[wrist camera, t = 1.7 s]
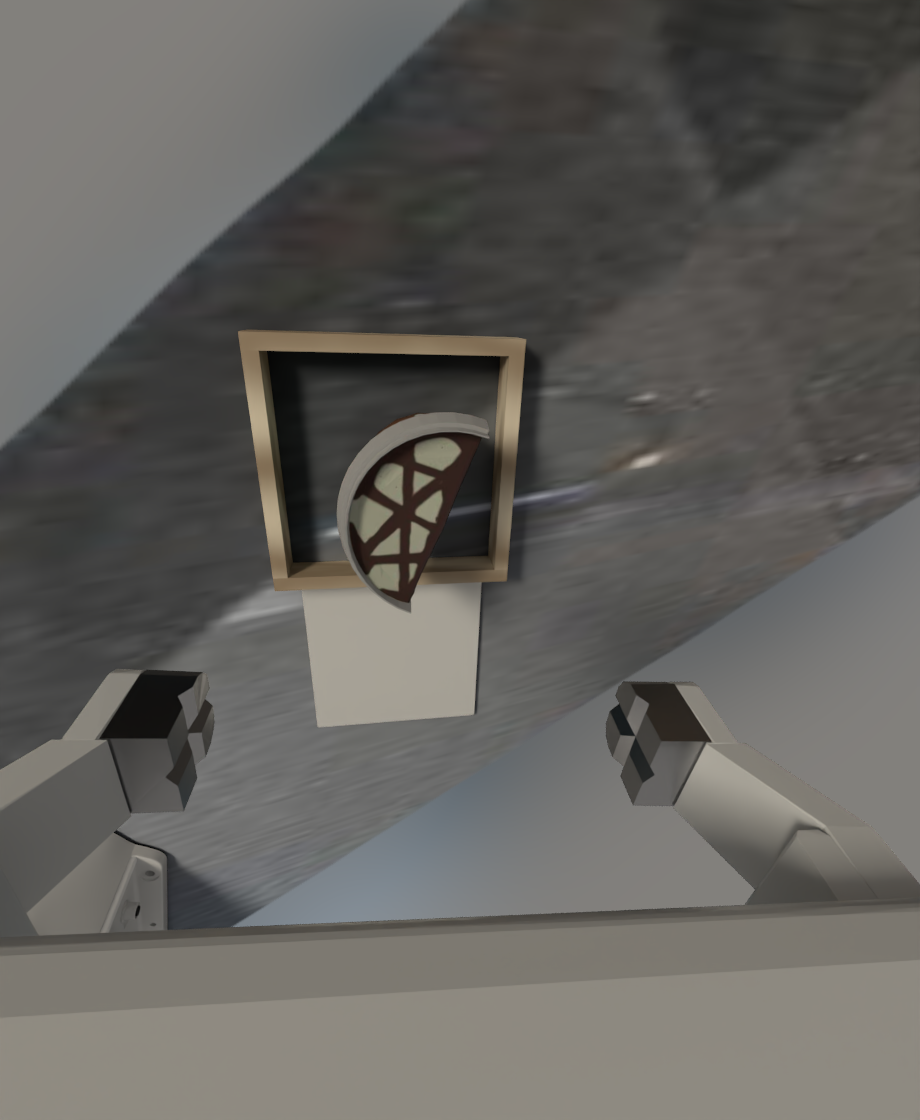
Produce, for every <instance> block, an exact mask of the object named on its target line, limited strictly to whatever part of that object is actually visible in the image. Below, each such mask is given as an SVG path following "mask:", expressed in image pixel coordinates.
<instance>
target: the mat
mask: <svg viewBox="0 0 920 1120" xmlns="http://www.w3.org/2000/svg"><path fill="white" fill-rule="evenodd" d="M481 583H482V582H475V583H451V584H428V585H417V586H416V588H415V592H414V594H413V596H412V598H411V614H410V613H407V612H405V611H402V610H399V609H397V608H395V607H394V606H392V605H390V604H388V603H386V602H385V601H384V600H382V599H381V598H380V597H378V596H377V595H376V594H374V593H373V592H372V591H371V590H370V589H369V588H368V587H358V588H335V589H312V590H302V595H303V604H304V612H305V621H306V630H307V638H308V647H309V655H310V664H311V673H312V681H313V690H314V698H315V707H316V716H317V724H318V727H329V726H341V725H353V724H366V723H378V722H390V721H403V720H415V719H427V718H440V717H452V716H464V715H474V707H475V690H476V672H477V654H478V636H479V618H480V601H481Z"/></svg>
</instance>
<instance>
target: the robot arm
mask: <svg viewBox="0 0 920 1120" xmlns="http://www.w3.org/2000/svg"><path fill="white" fill-rule="evenodd" d="M209 689H210V687H209V682H208V677H207V674H205V673H203V672H186V671H164V670H128V669H116V670H114V671H113V672H111V673H110V674H108V676H107V677H106V678H105V680H104V681H103V683H102V684H101V685H100V687H99V688H98V689H97V691H96V692H95V694H94V695H93V696H92V698H91V699H90V701H89V702H88V703H87V705H86V706H85V707H84V709H83V710H82V712H81V713H80V714H79V716H78V717H77V719H76V720H75V721H74V723H73V724H72V726H71V727H70V728H69V730H68V731H67V732H66V734H65V735H64V737H63V738H62V739H61V740H50V741H49V742H47V743H45V744H44V745H42V746H40V747H39V748H37V749H35V750H33V751H32V752H30V753H28V754H27V755H25V756H23V757H22V758H20V759H18V760H16V761H15V762H13V763H11V764H10V765H8V766H6V767H5V768H3V769H1V770H0V1120H920V884H919V883H918V882H917V880H916V879H915V878H914V877H913V876H912V874H911V873H910V872H909V871H908V869H907V868H906V867H905V866H904V865H903V863H902V862H901V861H900V860H899V859H898V857H897V856H896V855H895V854H894V853H893V851H892V850H891V849H890V848H889V847H888V845H887V844H886V843H885V842H884V840H883V839H882V838H881V837H880V836H879V834H878V833H877V832H876V831H875V830H874V828H873V827H872V826H870V825H868V824H867V823H865V822H864V821H862V820H861V819H859V818H858V817H856V816H855V815H853V814H852V813H850V812H849V811H847V810H846V809H844V808H843V807H841V806H840V805H838V804H837V803H835V802H834V801H832V800H831V799H829V798H828V797H826V796H824V795H823V794H822V793H820V792H818V791H817V790H816V789H814V788H812V787H811V786H809V785H808V784H806V783H805V782H803V781H802V780H800V779H799V778H797V777H796V776H794V775H793V774H791V773H790V772H788V771H787V770H785V769H784V768H782V767H781V766H779V765H778V764H776V763H775V762H773V761H772V760H770V759H769V758H767V757H766V756H764V755H762V754H761V753H760V752H758V751H757V750H755V749H753V748H752V747H751V746H749V745H748V744H746V743H738V742H737V741H736V739H735V738H734V736H733V735H732V733H731V732H730V730H729V729H728V728H727V726H726V725H725V723H724V722H723V720H722V719H721V718H720V716H719V715H718V713H717V712H716V710H715V709H714V708H713V706H712V705H711V703H710V702H709V700H708V699H707V698H706V696H705V695H704V693H703V692H702V690H701V689H700V688H699V686H697V685H696V684H695V683H693V682H625V681H623V683H622V684H621V685H620V686H619V687H618V690H617V693H616V698H617V700H618V702H619V704H618V705H617V706H616V707H614V708H613V709H612V710H611V711H610V712H609V716H608V719H607V722H606V738H607V743H608V747H609V749H610V752H611V754H612V757H613V758H614V759H615V760H617V761H618V762H619V763H620V764H621V765H622V766H624V767H623V770H622V773H621V778H622V781H623V783H624V785H625V788H626V790H627V792H628V795H629V797H630V799H631V802H632V804H633V805H643V806H674V809H675V810H676V811H677V812H678V813H679V814H680V815H681V816H682V817H683V818H684V819H685V820H686V821H687V822H688V823H689V824H690V825H691V826H692V827H693V828H694V829H695V830H696V831H697V832H698V833H699V834H700V835H701V836H702V837H703V838H704V839H705V840H706V841H707V842H708V843H709V844H710V845H711V846H712V847H713V848H714V849H715V850H716V851H717V852H718V853H719V854H720V855H721V856H722V857H723V858H724V859H725V860H726V861H727V862H728V863H729V864H730V865H731V866H732V867H733V868H734V869H735V870H736V871H737V872H738V873H739V874H740V875H741V876H742V877H743V878H744V879H745V880H746V881H747V882H748V883H749V884H750V885H751V886H752V887H753V888H754V889H755V891H754V892H753V894H752V895H751V896H750V898H749V899H748V901H747V902H746V903H745V905H734V906H712V907H689V908H666V909H643V910H621V911H598V912H576V913H552V914H530V915H506V916H484V917H483V916H482V917H460V918H459V917H458V918H435V919H412V920H388V921H366V922H343V923H321V924H297V925H274V926H250V927H227V928H204V929H181V930H167V857H166V855H165V854H164V853H162V852H161V851H158V850H156V849H152V848H148V847H145V846H140V845H136V844H133V843H131V842H129V841H127V840H125V839H124V838H122V837H120V836H119V835H117V834H115V833H114V832H115V831H116V830H117V829H118V828H119V827H120V826H121V825H122V824H123V823H124V822H125V821H126V820H128V819H129V818H130V817H131V815H130V813H155V812H180V811H184V809H185V807H186V805H187V802H188V800H189V797H190V795H191V792H192V790H193V787H194V785H195V782H196V780H197V774H196V769H195V765H196V764H197V763H199V762H200V761H201V760H202V759H204V758H205V757H206V755H207V752H208V749H209V747H210V744H211V740H212V735H213V730H214V711H213V706H212V705H211V704H210V703H209V702H208V701H207V700H206V699H205V698H206V696H207V693H208V691H209Z"/></svg>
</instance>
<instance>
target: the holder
mask: <svg viewBox="0 0 920 1120" xmlns="http://www.w3.org/2000/svg"><path fill="white" fill-rule="evenodd" d="M238 335H239V342H240V349H241V356H242V363H243V370H244V377H245V384H246V392H247V399H248V406H249V413H250V420H251V427H252V434H253V441H254V448H255V455H256V462H257V469H258V476H259V483H260V490H261V497H262V504H263V511H264V518H265V525H266V532H267V539H268V546H269V553H270V560H271V567H272V574H273V581H274V588H275V591H288V590H312V589H335V588H358V587H367V586H366V585H365V584H364V583H363V582H362V581H361V580H360V578H359V577H358V575H357V574H356V573H355V571H354V570H353V568H352V566H351V564H350V562H349V561H327V562H299V563H293V560H292V552H291V544H290V536H289V527H288V519H287V511H286V503H285V495H284V486H283V478H282V470H281V462H280V453H279V445H278V437H277V429H276V421H275V412H274V404H273V396H272V388H271V380H270V371H269V363H268V355H267V351H299V352H343V353H388V354H432V355H476V356H500V369H499V385H498V402H497V418H496V435H495V451H494V467H493V484H492V500H491V517H490V533H489V549H488V556H468V557H440V558H429V559H428V561H427V563H426V565H425V568H424V570H423V572H422V574H421V576H420V579H419V581H418V583H417V585H428V584H451V583H475V582H498V581H507V570H508V558H509V545H510V533H511V520H512V508H513V495H514V483H515V470H516V458H517V446H518V433H519V421H520V408H521V396H522V383H523V371H524V358H525V346H526V339H522V338H517V337H486V336H450V335H415V334H379V333H343V332H308V331H272V330H243V331H238Z"/></svg>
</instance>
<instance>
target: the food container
mask: <svg viewBox="0 0 920 1120" xmlns="http://www.w3.org/2000/svg"><path fill="white" fill-rule="evenodd" d="M488 432H489V428H488V424H487V421H486V420H484V419H481V418H478V417H475V416H472V415H467V414H460V413H454V412H438V413H416V414H413V415H409V416H406V417H403V418H400V419H396V420H395V421H394V422H392V423H391V424H389V425H388V426H387V427H385V428H384V429H382V430H381V431H380V432H379V433H378V434H377V435H376V437H374V438H373V439H372V440H370V441H369V442H368V444H367V445H366V446H365V447H364V448H363V449H362V450H361V451H360V452H359V453H358V455H357V456H356V458H355V459H354V461H353V462H352V464H351V465H350V467H349V468H348V470H347V473H346V475H345V477H344V479H343V482H342V485H341V489H340V493H339V497H338V504H337V523H338V531H339V535H340V539H341V542H342V546H343V548H344V551H345V553H346V555H347V557H348V560H349V562H350V564H351V566H352V568H353V570H354V571H355V573H356V574H357V575H358V577H359V578H360V580H361V581H362V582H363V583H364V584H365V585H366V586H367V587H368V588H369V589H370V590H371V591H372V592H373V593H374V594H376V595H377V596H378V597H380V598H381V599H382V600H384V601H385V602H386V603H388V604H390V605H392V606H394V607H395V608H397V609H399V610H402V611H405V612H407V613H410V614H411V598H412V596H413V594H414V592H415V588H416V586H417V583H418V581H419V579H420V576H421V574H422V572H423V570H424V568H425V565H426V563H427V561H428V559H429V557H430V555H431V552H432V550H433V548H434V546H435V544H436V542H437V540H438V538H439V536H440V534H441V532H442V530H443V528H444V526H445V523H446V521H447V518H448V516H449V513H450V511H451V508H452V506H453V503H454V501H455V498H456V496H457V494H458V491H459V489H460V486H461V484H462V482H463V480H464V477H465V475H466V473H467V470H468V468H469V466H470V464H471V461H472V459H473V457H474V454H475V452H476V450H477V448H478V445H479V443H480V441H481V438H482V437H485V438H488V439H489V438H490V437H489V436H488Z"/></svg>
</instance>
